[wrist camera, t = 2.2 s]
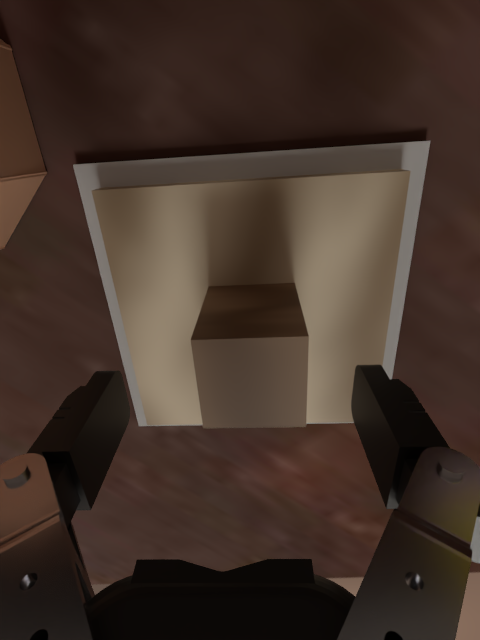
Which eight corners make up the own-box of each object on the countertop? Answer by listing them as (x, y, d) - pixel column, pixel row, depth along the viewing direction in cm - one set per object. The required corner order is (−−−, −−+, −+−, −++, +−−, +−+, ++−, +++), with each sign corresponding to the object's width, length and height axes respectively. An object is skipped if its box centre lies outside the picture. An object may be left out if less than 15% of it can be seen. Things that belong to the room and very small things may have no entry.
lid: (401, 169, 15) (482, 184, 9) (369, 409, 21) (408, 503, 15) (100, 187, 16) (19, 211, 10) (151, 413, 21) (116, 503, 16)
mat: (426, 140, 15) (430, 140, 14) (382, 417, 21) (384, 422, 21) (77, 164, 16) (73, 164, 15) (140, 421, 22) (138, 425, 22)
